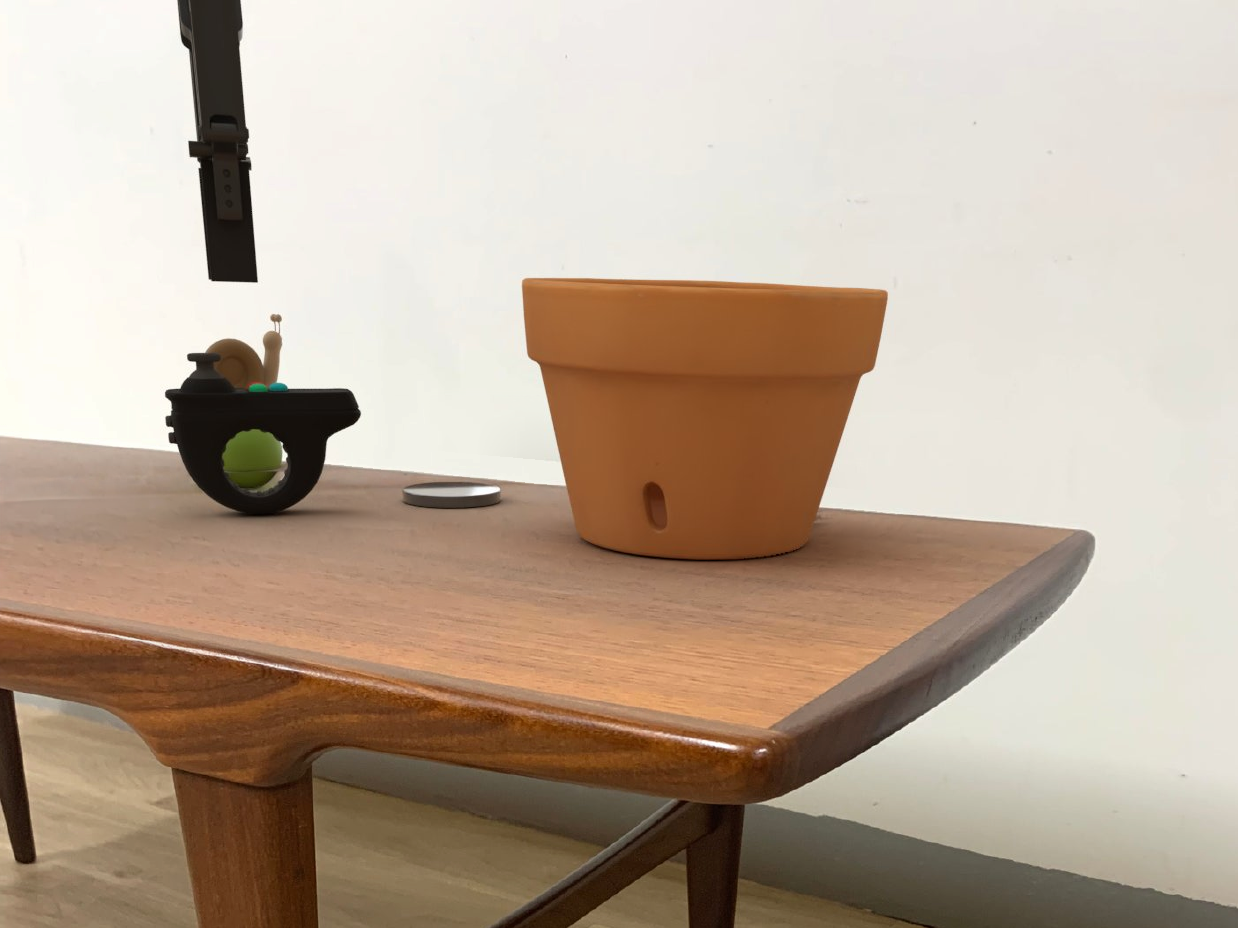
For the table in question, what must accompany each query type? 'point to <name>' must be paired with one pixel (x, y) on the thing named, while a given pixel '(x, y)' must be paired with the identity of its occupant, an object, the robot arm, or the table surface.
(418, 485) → the slate coaster
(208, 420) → the controller
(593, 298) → the flower pot
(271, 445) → the snail figurine
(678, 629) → the table surface
